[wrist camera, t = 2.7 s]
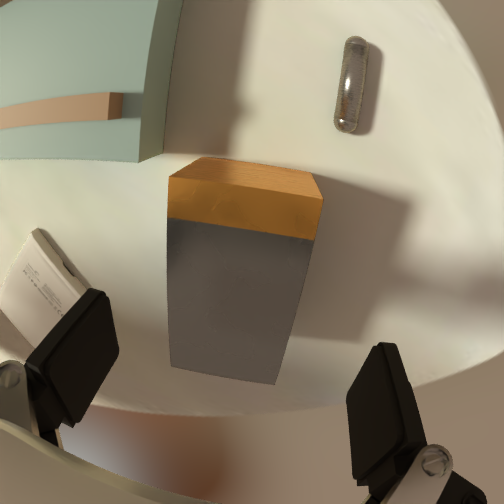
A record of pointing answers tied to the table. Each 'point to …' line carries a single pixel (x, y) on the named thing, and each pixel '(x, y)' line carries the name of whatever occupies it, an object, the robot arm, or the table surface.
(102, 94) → the stand
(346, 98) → the grey metal rounded bar
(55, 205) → the table surface
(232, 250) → the block
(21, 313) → the external hard drive
